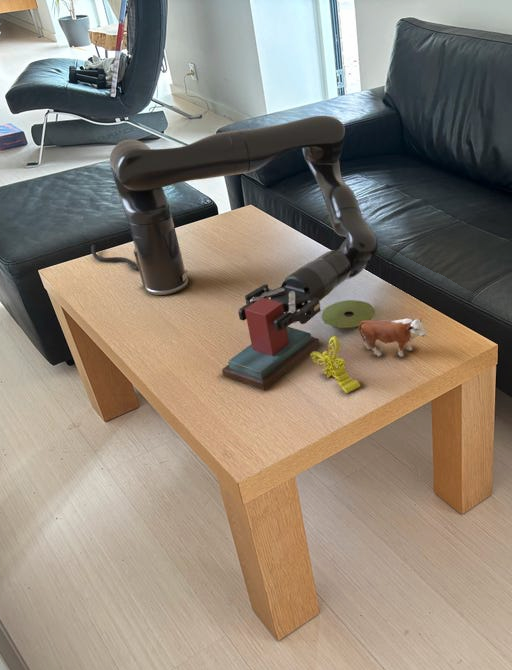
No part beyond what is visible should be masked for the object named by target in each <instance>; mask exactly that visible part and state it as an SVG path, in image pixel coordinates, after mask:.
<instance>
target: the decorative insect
mask: <svg viewBox="0 0 512 670" xmlns="http://www.w3.org/2000/svg"><path fill="white" fill-rule="evenodd" d="M339 351H340V341H339V338H338V337H337V336H335V335H334V336H333V335H332V337H330V338H329V341H328V350H325V351H323V352H322V353H321V352H319V351H315V350H313V351H312V352H311V353H309V355H310V358H311V360H312V361H313V362H314V363H315V364H317V365H320V366H321V365H324V367H323V373H324V375H326V377H327V378H330V377H333V378H335V381H336V383H338V386H339V387H340V388H341V389H342V390H343V392H344V393H346V394H349V393H350V392H352V391H354V390H357V389H359V388H360V387H361V384H360V382H359V381H358V380H357V379H352V378H351V377H349V375H348V373H347V371H346V367H347V363H346V362H345V360H344V359H343V358H342V357H339V356H338V354H339ZM317 357H318V358H317Z"/></svg>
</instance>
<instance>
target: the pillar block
mask: <svg viewBox="0 0 512 670" xmlns="http://www.w3.org/2000/svg"><path fill="white" fill-rule="evenodd" d="M284 313H285V312H284V309H283V303H280V302H277V301H273V300H271V299H270V298H268V299H266V298H260V299H259V300H257V301H256V302H255V303H253V304H252V305H250V306H249V307H247V308H246V309H245V314H246V324H247V329H248V334H249V338H250V343H251V344H252V349H253V350H256V351H259V352H262V353H265V354H268V355H271V356H274V355H275V354H276V353H277V352H279V351H280V350H281V349H283V348H284V347H285V346H286V345H288V344H289V339H288V333H287V327H286V328H285V329H282V330H281V331H276V330H275V326H274V321H275V320H276V319H277V318H279V317H280V316H281V315H283V314H284ZM251 344H250V345H251Z"/></svg>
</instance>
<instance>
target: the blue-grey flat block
mask: <svg viewBox="0 0 512 670" xmlns="http://www.w3.org/2000/svg"><path fill="white" fill-rule="evenodd" d="M287 333H288V339H289V344H288V345H286V346H285V347H284V348H283V349H281V350H280V351H279V352H277V353H276V354H275V355H274V356H271V355H268V354H265V353H262V352H259V351H256V350H253V349H252V344H249V345H248V346H246V347H245V348H244V349H243V350H241V351H240V352H239V353H237V354H236V355H235V356H233V357H232V358H230V359H229V360H227V361H228V364H227V365H226V366H224V367H223V368H222V369H221V371H222V375H223V377H224V378H226V379H227V378H228V379H231V380H232V381H233V380H234V381H236V382H239V383H242V384H245V385H247V386H250V387H253V388H256V389H260V390H262V391H265V390H267V389H268V388H269V387H270V386H272V385H273V384H274V383H276V381H278V380H279V379H280V378H281V377H283V376H284V375H285V374H286V373H288V372H289V371H290V370H291V369H293V368H294V367H295V366H296V365H297V364H298V363H300V362H301V361H302V360H303V359H305V358H306V357H307V356H309V355H310V354H311V353H312V352H314V351H315V350H316V349H317V348H319V346H320V340H319V338H317V337H314V336H312V333H310V332H308V331H304V330H301V329H297V328H294V327H292V326H287Z"/></svg>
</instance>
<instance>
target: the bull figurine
mask: <svg viewBox="0 0 512 670" xmlns="http://www.w3.org/2000/svg"><path fill="white" fill-rule="evenodd" d="M421 321H422V317H419V319H417V318H416V319H414V320H413V319H411V318H403V319H395V320H381V319H371V320H365V321H362V322H361V323H360V324H359V326H358V332H359V335H360V337H361V338H362V341H363V344H364V347H365V348H366V349H367V350H372V352H373V355H374V356H375V355H376V356H377V357H378V358H379V357H382V356H383V354H382V352H381V351H379V350H378V348H377V345H376V341H380V342H382V343H384V345H387V344H391V343H397V344H398V352H397V356H399V357H400V358H405V354H404V352H403V349H404V348H405V350H407V351H408V352H412V351H413V350H414V348H413V347H412V346H411V345H410V343H411V342H413V340H415V339H416V337H420V338H423V337H426V336H427V331H426V330H425V328H424V324H423V323H422V322H421Z"/></svg>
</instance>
